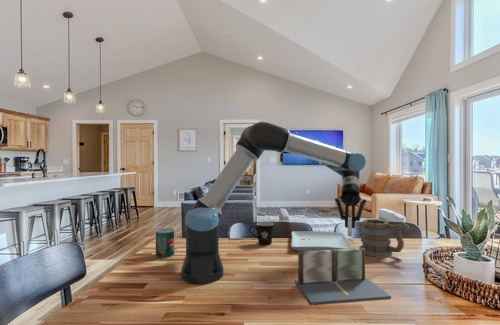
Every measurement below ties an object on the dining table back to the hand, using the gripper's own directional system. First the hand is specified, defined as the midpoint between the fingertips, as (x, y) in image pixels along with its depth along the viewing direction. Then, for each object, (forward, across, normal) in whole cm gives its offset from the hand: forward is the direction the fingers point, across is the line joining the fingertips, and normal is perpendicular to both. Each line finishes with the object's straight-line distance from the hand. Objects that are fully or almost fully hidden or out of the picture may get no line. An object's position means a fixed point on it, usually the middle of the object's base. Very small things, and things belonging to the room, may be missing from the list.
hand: (349, 234), depth 108 cm
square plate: (-7, -15, +26) cm, 30 cm away
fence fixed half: (+23, -10, -7) cm, 26 cm away
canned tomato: (+20, -76, -3) cm, 79 cm away
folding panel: (+19, +1, -3) cm, 19 cm away
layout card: (+25, -2, -7) cm, 26 cm away
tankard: (-5, +14, +23) cm, 27 cm away
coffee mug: (-2, -42, +20) cm, 47 cm away
